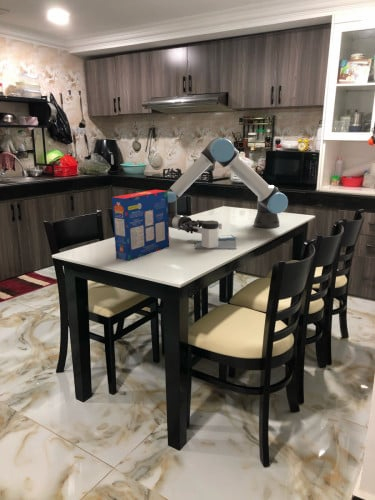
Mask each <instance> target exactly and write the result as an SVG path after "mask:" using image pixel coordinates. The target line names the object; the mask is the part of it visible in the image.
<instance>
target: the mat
mask: <svg viewBox="0 0 375 500" xmlns="http://www.w3.org/2000/svg"><path fill="white" fill-rule="evenodd" d="M194 246H195V247H194V249H195V250H237V242H236V240H231V241H219V245H218V247H216V248H205V247H202V240H196V244H195V245H194Z"/></svg>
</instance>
